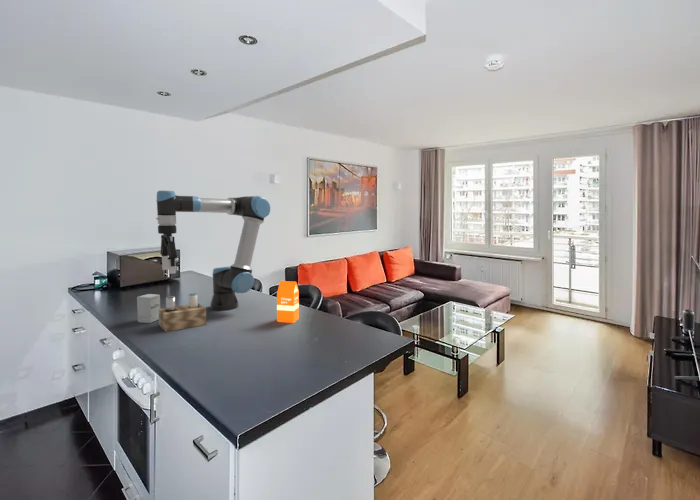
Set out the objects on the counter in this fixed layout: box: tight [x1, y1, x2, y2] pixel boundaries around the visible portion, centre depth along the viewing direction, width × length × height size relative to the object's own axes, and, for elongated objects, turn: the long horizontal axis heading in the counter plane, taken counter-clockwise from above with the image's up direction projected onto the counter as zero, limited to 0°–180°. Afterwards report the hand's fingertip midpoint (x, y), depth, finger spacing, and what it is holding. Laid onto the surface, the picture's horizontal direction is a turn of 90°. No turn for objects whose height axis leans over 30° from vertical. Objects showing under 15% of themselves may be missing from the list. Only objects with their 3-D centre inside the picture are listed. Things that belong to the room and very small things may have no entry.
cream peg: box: [188, 292, 199, 309], centre depth 177 cm, size 4×4×8 cm
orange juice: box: [276, 280, 300, 324], centre depth 184 cm, size 8×9×20 cm
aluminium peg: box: [165, 295, 177, 312], centre depth 170 cm, size 4×4×8 cm
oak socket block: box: [158, 303, 207, 333], centre depth 174 cm, size 18×12×8 cm, turn 129°
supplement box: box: [136, 293, 161, 324], centre depth 180 cm, size 7×7×13 cm
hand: (169, 271), depth 169 cm, fingers open, 12 cm apart
